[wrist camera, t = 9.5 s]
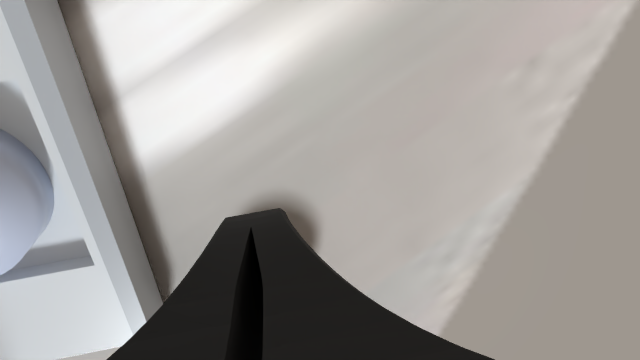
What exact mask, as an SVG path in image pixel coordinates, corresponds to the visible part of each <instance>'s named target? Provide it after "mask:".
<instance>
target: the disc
mask: <svg viewBox="0 0 640 360" xmlns="http://www.w3.org/2000/svg"><path fill="white" fill-rule="evenodd" d="M53 209H54V193H53V187H52V184H51V181H50V178H49V176H48V174H47V172H46V170H45V168H44V167H43V165H42V164H41V162H40V161H39V159H38V158H37V157H36V156H35V155H34V154H33V152H32V151H31V150H30V149H28V148H27V147H26V146H25V145H24V144H23V143H22V142H20V141H19V140H18V139H16V138H15V137H14V136H12V135H10V134H9V133H7V132H6V131H4V130H2V129H0V275H2V274H4V273H6V272H7V271H9V270H10V269H12V268H13V267H14V266H15V265H16V264H17V263H18V262H19V261H20V260H21V259H22V258H23V256H24V255H25V254H26V253H27V251H28V250H29V249H30V248H31V247H32V245H33V244H34V243H35V242H36V240H37V239H38V238H39V237H40V235H41V234H42V233H43V232H44V230H45V229H46V228H47V226H48V224H49V222H50V220H51V217H52V214H53Z"/></svg>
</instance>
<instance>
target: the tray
mask: <svg viewBox="0 0 640 360" xmlns="http://www.w3.org/2000/svg"><path fill="white" fill-rule="evenodd" d="M0 129H2V130H4V131H6V132H7V133H9V134H10V135H12V136H14V137H15V138H16V139H18V140H19V141H20V142H22V143H23V144H24V145H25V146H26V147H27V148H28V149H30V150H31V151H32V152H33V154H34V155H35V156H36V157H37V158H38V159H39V161H40V162H41V164H42V165H43V167H44V168H45V170H46V172H47V174H48V176H49V178H50V181H51V184H52V187H53V193H54V209H53V214H52V217H51V220H50V222H49V224H48V226H47V228H46V229H45V230H44V232H43V233H42V234H41V235H40V237H39V238H38V239H37V240H36V242H35V243H34V244H33V245H32V247H31V248H30V249H29V250H28V251H27V253H26V254H25V255H24V256H23V258H22V259H21V260H20V261H19V262H18V263H17V264H16V265H15V266H14V267H13V268H12V269H10V270H9V271H7V272H6V273H4V274H2V275H0V360H57V359H62V358H67V357H72V356H76V355H81V354H86V353H91V352H96V351H101V350H106V349H111V348H116V347H121V346H123V345H124V344H125V343H126V342H127V341H128V340H129V339H130V338H131V337H132V336H133V335H134V334H135V333H136V332H137V331H138V330H139V329H140V328H141V327H142V326H143V325H144V324H145V323H146V322H147V321H148V320H149V319H150V318H151V317H152V316H153V315H154V313H155V312H156V311H157V310H158V309H159V308H160V307H161V306H162V305H163V302H162V299H161V296H160V293H159V290H158V287H157V285H156V282H155V279H154V276H153V273H152V270H151V267H150V265H149V262H148V259H147V256H146V253H145V250H144V247H143V244H142V242H141V239H140V236H139V233H138V230H137V227H136V224H135V222H134V219H133V216H132V213H131V210H130V207H129V204H128V202H127V199H126V196H125V193H124V190H123V187H122V184H121V182H120V179H119V176H118V173H117V170H116V167H115V164H114V162H113V159H112V156H111V153H110V150H109V147H108V144H107V142H106V139H105V136H104V133H103V130H102V127H101V124H100V121H99V119H98V116H97V113H96V110H95V107H94V104H93V101H92V99H91V96H90V93H89V90H88V87H87V84H86V81H85V79H84V76H83V73H82V70H81V67H80V64H79V61H78V59H77V56H76V53H75V50H74V47H73V44H72V41H71V39H70V36H69V33H68V30H67V27H66V24H65V21H64V19H63V16H62V13H61V10H60V7H59V4H58V1H57V0H0Z"/></svg>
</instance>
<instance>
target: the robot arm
mask: <svg viewBox="0 0 640 360" xmlns="http://www.w3.org/2000/svg"><path fill="white" fill-rule="evenodd" d="M107 360H495V359H492V358H489V357H487V356H484V355H481V354H479V353H476V352H473V351H471V350H468V349H465V348H463V347H460V346H458V345H455V344H453V343H451V342H449V341H447V340H444V339H443V338H440V337H438V336H436V335H434V334H432V333H430V332H428V331H425V330H423V329H421V328H419V327H417V326H415V325H414V324H412V323H410V322H408V321H406V320H405V319H403V318H401V317H399V316H398V315H396V314H394V313H392V312H391V311H389V310H387V309H385V308H384V307H382V306H381V305H379V304H378V303H376V302H375V301H373V300H372V299H370V298H369V297H367V296H366V295H364V294H363V293H362V292H360V291H359V290H358V289H356V288H355V287H353V286H352V285H351V284H350V283H348V282H347V281H346V280H345V279H343V278H342V277H341V276H340V275H339V274H338V273H336V272H335V271H334V270H333V269H332V268H331V267H330V266H329V265H328V264H327V263H325V262H324V261H323V260H322V259H321V258H320V257H319V256H318V255H317V254H316V253H315V252H314V250H313V249H312V248H311V247H310V246H309V245H308V244H307V243H306V242H305V241H304V239H303V238H302V237H301V236H300V235H299V233H298V232H297V231H296V229H295V228H294V227H293V225H292V224H291V222H290V221H289V219H288V217H287V215H286V213H285V211H283V210H282V209H280V208H278V209H272V210H267V211H261V212H255V213H250V214H244V215H239V216H233V217H227V218H225V219H224V221H223V222H222V223H221V225H220V226H219V228H218V229H217V231H216V232H215V234H214V236H213V237H212V239H211V240H210V242H209V243H208V245H207V246H206V248H205V249H204V251H203V252H202V254H201V255H200V257H199V258H198V259H197V261H196V262H195V264H194V265H193V267H192V268H191V269H190V271H189V272H188V274H187V275H186V276H185V278H184V279H183V280H182V281H181V283H180V284H179V285H178V286H177V288H176V289H175V290H174V291H173V293H172V294H171V295H170V296H169V298H168V299H167V300H166V301H165V302H164V304H163V305H162V306H161V307H160V308H159V309H158V310H157V311H156V312H155V313H154V315H153V316H152V317H151V318H150V319H149V320H148V321H147V322H146V323H145V324H144V325H143V326H142V327H141V328H140V329H139V330H138V331H137V332H136V333H135V334H134V335H133V336H132V337H131V338H130V339H129V340H128V341H127V342H126V343H125V344H124V345H123V346H121V347H120V348H119V349H118V350H117V351H116V352H115V353H113V354H112V355H111V356H110V357H109V358H108V359H107Z"/></svg>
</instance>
